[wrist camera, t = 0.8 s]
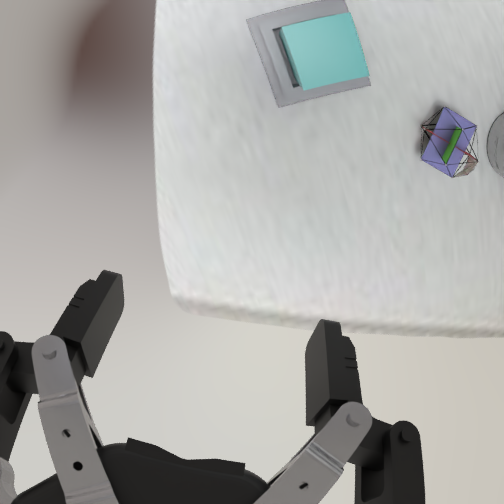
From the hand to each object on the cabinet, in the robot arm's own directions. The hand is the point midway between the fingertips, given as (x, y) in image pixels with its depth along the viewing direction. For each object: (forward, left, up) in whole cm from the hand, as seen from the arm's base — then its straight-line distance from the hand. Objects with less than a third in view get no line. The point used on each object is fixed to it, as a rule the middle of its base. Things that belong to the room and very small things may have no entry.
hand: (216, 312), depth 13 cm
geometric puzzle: (-21, +5, -26) cm, 33 cm away
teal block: (-9, -7, -25) cm, 27 cm away
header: (-8, -7, -25) cm, 28 cm away
